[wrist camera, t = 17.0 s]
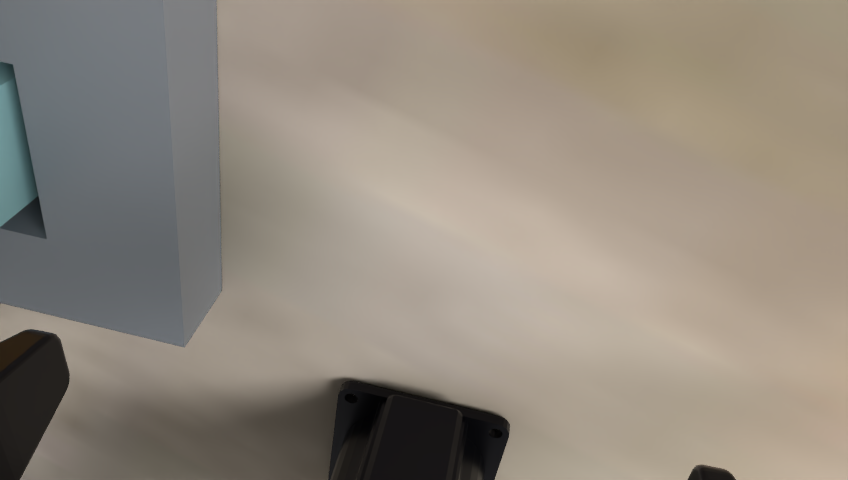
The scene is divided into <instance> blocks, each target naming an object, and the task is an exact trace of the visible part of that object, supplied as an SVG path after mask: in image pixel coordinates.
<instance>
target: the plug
mask: <svg viewBox="0 0 848 480" xmlns="http://www.w3.org/2000/svg"><path fill="white" fill-rule="evenodd" d="M37 196H38V191H37V185H36V180H35V175H34V170H33V165H32V160H31V155H30V149H29V144H28V139H27V134H26V129H25V124H24V119H23V113H22V108H21V103H20V98H19V93H18V88H17V83H16V77H15V72H14V67H13V64H9V63H4V62H0V227H1V226H2V225H3V224H4V223H6V222H7V221H8V220H9V219H11V218H12V217H13V216H14V215H15V214H17V213H18V212H19V211H20V210H22V209H23V208H24V207H25V206H26V205H28V204H29V203H30V202H31V201H33V200H34V199H35V198H36V197H37Z"/></svg>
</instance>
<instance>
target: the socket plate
mask: <svg viewBox="0 0 848 480" xmlns="http://www.w3.org/2000/svg"><path fill="white" fill-rule="evenodd" d="M0 62H4V63H9V64H13V67H14V72H15V77H16V83H17V88H18V93H19V98H20V103H21V108H22V113H23V119H24V124H25V129H26V134H27V139H28V144H29V149H30V155H31V160H32V165H33V170H34V175H35V180H36V185H37V191H38V196H37V197H36V198H35V199H34V200H33V201H31V202H30V203H29V204H28V205H26V206H25V207H24V208H23V209H22V210H20V211H19V212H18V213H17V214H15V215H14V216H13V217H12V218H11V219H9V220H8V221H7V222H6V223H4V224H3V225H2V226H1V227H0V303H3V304H7V305H11V306H15V307H20V308H24V309H28V310H32V311H36V312H40V313H44V314H48V315H53V316H57V317H61V318H65V319H69V320H73V321H77V322H82V323H86V324H90V325H94V326H98V327H102V328H106V329H111V330H115V331H119V332H123V333H127V334H131V335H135V336H140V337H144V338H148V339H152V340H156V341H160V342H164V343H169V344H173V345H177V346H181V347H185V346H186V344H187V343H188V341H189V340H190V338H191V337H192V335H193V334H194V332H195V331H196V329H197V328H198V326H199V325H200V323H201V322H202V320H203V319H204V317H205V316H206V314H207V313H208V311H209V310H210V308H211V306H212V305H213V303H214V302H215V300H216V299H217V297H218V296H219V294H220V293H221V291H222V268H221V216H220V164H219V111H218V59H217V7H216V0H0Z"/></svg>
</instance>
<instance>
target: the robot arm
mask: <svg viewBox="0 0 848 480" xmlns="http://www.w3.org/2000/svg"><path fill="white" fill-rule="evenodd" d="M68 384H69V370H68V366H67V362H66V358H65V355H64V351H63V347H62V344H61V341H60V338H59V337H58V336H57V335H56V334H53V333H49V332H44V331H39V330H33V329H30V330H25V331H23V332H20V333H18V334H16V335H14V336H12V337H10V338H8V339H6V340H4V341H2V342H0V480H20V478H21V476H22V474H23V472H24V471H25V469H26V467H27V465H28V463H29V461H30V459H31V457H32V456H33V454H34V452H35V450H36V448H37V446H38V444H39V442H40V440H41V438H42V436H43V434H44V433H45V431H46V429H47V427H48V425H49V423H50V421H51V419H52V417H53V415H54V413H55V411H56V409H57V408H58V406H59V404H60V402H61V400H62V398H63V396H64V394H65V392H66V390H67V387H68ZM351 394H354V395H351ZM495 429H498V430H495ZM509 430H510V424H509V422H508V421H507V420H506V419H505V418H502V417H500V416H496V415H492V414H488V413H483V412H479V411H475V410H471V409H467V408H463V407H459V406H454V405H450V404H446V403H442V402H438V401H434V400H430V399H425V398H421V397H417V396H413V395H409V394H405V393H400V392H396V391H392V390H388V389H384V388H380V387H376V386H371V385H367V384H363V383H359V382H354V381H348V382H345V383H344V384H343V385H342V387H341V390H340V392H339V395H338V403H337V411H336V420H335V428H334V437H333V445H332V454H331V462H330V471H329V479H328V480H494V479H495V476H496V473H497V470H498V467H499V464H500V461H501V458H502V455H503V452H504V449H505V446H506V443H507V441H508V438H509ZM688 480H736V479H735V478H734V476H733V475H732V474H731V473H730V472H729V471H727V470H725V469H721V468H716V467H711V466H706V465H697V466H696V467H694V469H693V470H692V472H691V474H690V476H689V478H688Z"/></svg>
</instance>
